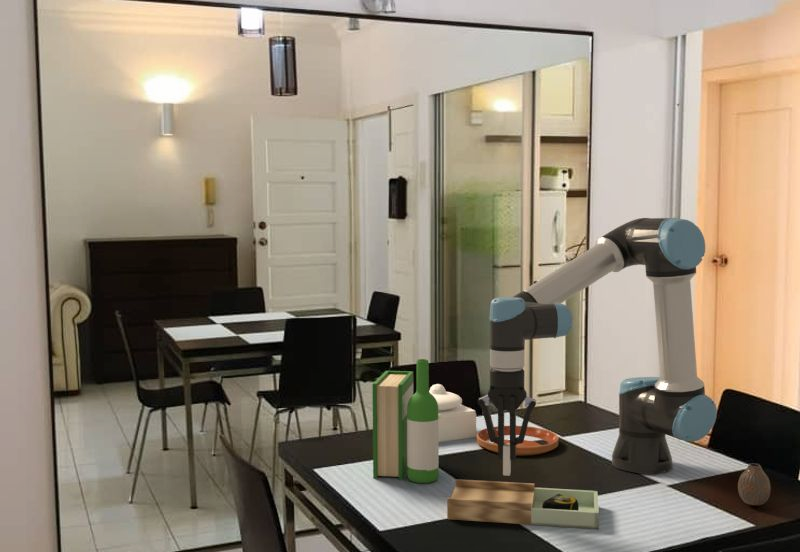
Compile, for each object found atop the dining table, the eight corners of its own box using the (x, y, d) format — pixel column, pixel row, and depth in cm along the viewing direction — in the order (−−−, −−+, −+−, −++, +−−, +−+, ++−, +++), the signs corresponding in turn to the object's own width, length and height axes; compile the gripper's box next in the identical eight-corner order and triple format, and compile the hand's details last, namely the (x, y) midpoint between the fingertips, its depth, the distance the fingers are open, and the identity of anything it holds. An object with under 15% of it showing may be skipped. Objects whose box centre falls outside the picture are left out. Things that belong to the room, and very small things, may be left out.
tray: (597, 506, 199) (597, 491, 199) (598, 529, 185) (598, 513, 184) (534, 502, 202) (534, 487, 201) (531, 525, 187) (531, 508, 187)
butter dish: (421, 448, 249) (421, 392, 247) (395, 433, 265) (395, 381, 264) (476, 441, 256) (476, 386, 255) (447, 427, 272) (447, 376, 271)
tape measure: (540, 498, 191) (541, 515, 191) (569, 503, 187) (569, 520, 187) (555, 489, 197) (555, 506, 197) (583, 495, 192) (583, 511, 193)
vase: (767, 509, 196) (768, 470, 196) (734, 504, 200) (735, 466, 199) (772, 500, 202) (773, 463, 201) (740, 495, 206) (741, 458, 205)
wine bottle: (407, 474, 223) (407, 357, 221) (438, 474, 223) (438, 357, 221) (406, 484, 215) (406, 362, 213) (438, 484, 215) (438, 362, 213)
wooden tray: (534, 502, 201) (534, 483, 201) (531, 524, 188) (531, 503, 187) (456, 498, 205) (456, 479, 205) (447, 519, 191) (447, 498, 191)
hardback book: (402, 480, 219) (401, 384, 217) (373, 478, 220) (372, 383, 218) (413, 460, 236) (413, 371, 234) (386, 459, 237) (385, 370, 236)
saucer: (571, 444, 252) (571, 431, 251) (538, 464, 233) (538, 450, 232) (498, 433, 264) (498, 421, 264) (462, 451, 245) (462, 438, 245)
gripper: (537, 365, 196) (537, 470, 198) (479, 364, 198) (479, 467, 200) (536, 372, 188) (535, 480, 190) (475, 370, 191) (475, 477, 193)
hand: (506, 473), depth 195 cm, fingers closed
